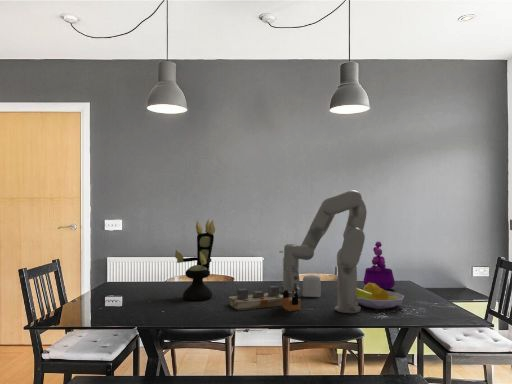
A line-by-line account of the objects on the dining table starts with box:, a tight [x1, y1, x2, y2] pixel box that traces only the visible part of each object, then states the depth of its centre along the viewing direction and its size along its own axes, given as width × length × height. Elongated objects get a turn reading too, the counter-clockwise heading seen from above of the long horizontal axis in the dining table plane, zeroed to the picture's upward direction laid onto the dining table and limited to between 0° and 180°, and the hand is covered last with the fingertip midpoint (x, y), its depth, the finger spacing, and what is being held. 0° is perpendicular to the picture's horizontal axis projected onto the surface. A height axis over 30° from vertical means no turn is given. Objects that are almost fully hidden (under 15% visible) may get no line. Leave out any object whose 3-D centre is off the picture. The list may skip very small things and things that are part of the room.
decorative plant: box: [363, 241, 396, 291], centre depth 252 cm, size 19×18×30 cm
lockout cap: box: [282, 296, 302, 312], centre depth 205 cm, size 7×7×5 cm
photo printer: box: [302, 274, 322, 298], centre depth 233 cm, size 10×4×12 cm, turn 84°
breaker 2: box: [252, 290, 264, 299], centre depth 214 cm, size 4×4×6 cm
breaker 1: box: [236, 288, 249, 300], centre depth 210 cm, size 4×4×6 cm
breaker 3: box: [267, 285, 280, 297], centre depth 217 cm, size 4×4×6 cm
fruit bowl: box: [357, 282, 405, 310], centre depth 211 cm, size 28×27×11 cm
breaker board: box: [228, 292, 283, 311], centre depth 213 cm, size 15×28×5 cm, turn 113°
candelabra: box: [174, 218, 216, 302], centre depth 232 cm, size 19×22×45 cm
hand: (290, 302), depth 205 cm, fingers open, 9 cm apart
